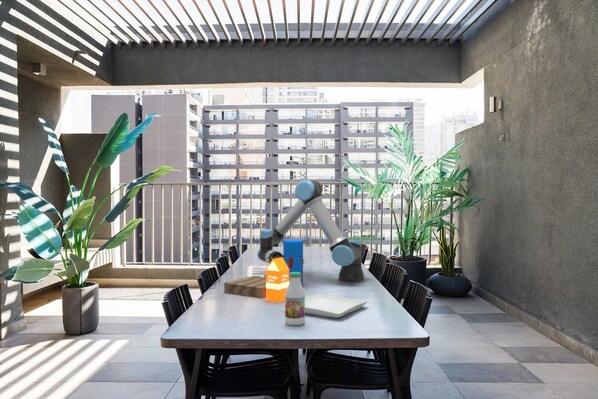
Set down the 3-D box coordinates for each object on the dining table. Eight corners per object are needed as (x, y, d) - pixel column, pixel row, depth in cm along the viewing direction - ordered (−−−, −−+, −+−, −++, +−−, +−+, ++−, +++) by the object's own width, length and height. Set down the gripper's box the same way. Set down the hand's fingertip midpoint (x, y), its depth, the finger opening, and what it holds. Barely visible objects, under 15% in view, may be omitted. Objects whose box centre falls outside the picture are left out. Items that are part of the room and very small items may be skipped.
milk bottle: (284, 320, 190) (284, 271, 189) (303, 320, 190) (303, 270, 190) (285, 326, 182) (285, 274, 182) (305, 325, 183) (305, 274, 182)
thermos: (300, 288, 251) (300, 242, 251) (281, 287, 253) (281, 241, 253) (304, 284, 262) (304, 239, 261) (285, 284, 264) (285, 239, 263)
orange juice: (289, 298, 228) (289, 257, 228) (279, 302, 221) (279, 259, 220) (275, 296, 232) (275, 256, 232) (265, 300, 224) (265, 258, 224)
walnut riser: (289, 289, 249) (289, 280, 249) (261, 298, 229) (261, 288, 229) (253, 284, 262) (253, 275, 262) (224, 292, 242) (224, 282, 242)
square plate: (340, 322, 189) (340, 312, 188) (283, 313, 203) (283, 304, 203) (367, 308, 212) (367, 299, 211) (314, 300, 226) (314, 292, 226)
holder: (260, 283, 268) (260, 278, 268) (230, 282, 271) (230, 277, 271) (276, 270, 313) (276, 266, 313) (250, 269, 316) (250, 265, 316)
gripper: (292, 262, 281) (312, 267, 263) (255, 265, 268) (273, 271, 250) (292, 249, 281) (312, 253, 263) (255, 252, 268) (273, 256, 250)
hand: (293, 262), depth 256 cm, fingers open, 13 cm apart
